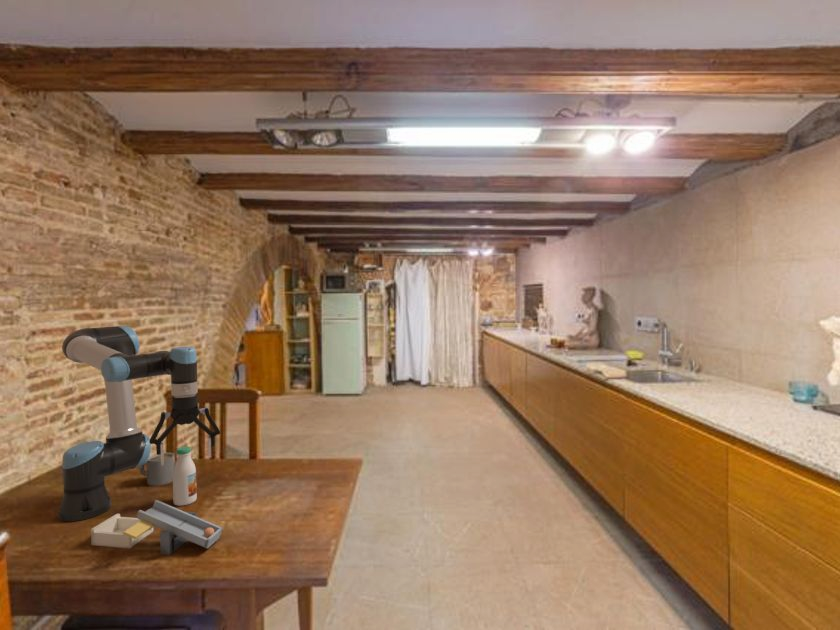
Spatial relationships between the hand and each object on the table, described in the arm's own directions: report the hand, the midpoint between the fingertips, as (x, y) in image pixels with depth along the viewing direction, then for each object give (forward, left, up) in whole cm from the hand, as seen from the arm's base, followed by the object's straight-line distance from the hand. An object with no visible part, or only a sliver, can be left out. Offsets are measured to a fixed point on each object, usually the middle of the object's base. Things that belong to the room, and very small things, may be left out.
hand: (186, 460), depth 148 cm
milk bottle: (-14, +18, -23) cm, 32 cm away
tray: (-16, -8, -23) cm, 29 cm away
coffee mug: (-38, +34, -23) cm, 56 cm away
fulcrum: (+3, -8, -23) cm, 24 cm away
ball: (+13, -8, -19) cm, 24 cm away
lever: (+3, -11, -18) cm, 22 cm away
